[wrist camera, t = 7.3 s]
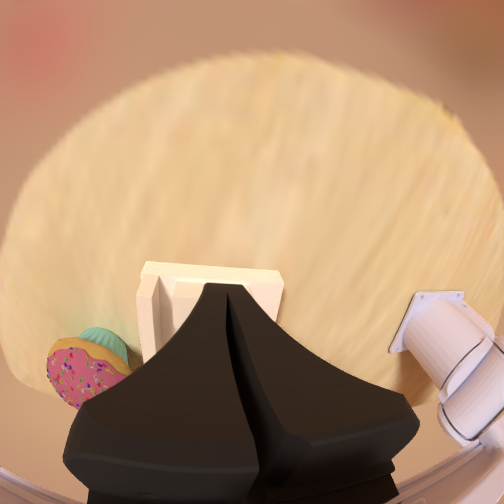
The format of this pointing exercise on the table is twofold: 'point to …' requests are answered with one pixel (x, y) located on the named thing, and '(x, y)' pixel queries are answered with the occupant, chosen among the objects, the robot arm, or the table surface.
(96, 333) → the cupcake
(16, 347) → the table surface
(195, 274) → the cream lipped block
